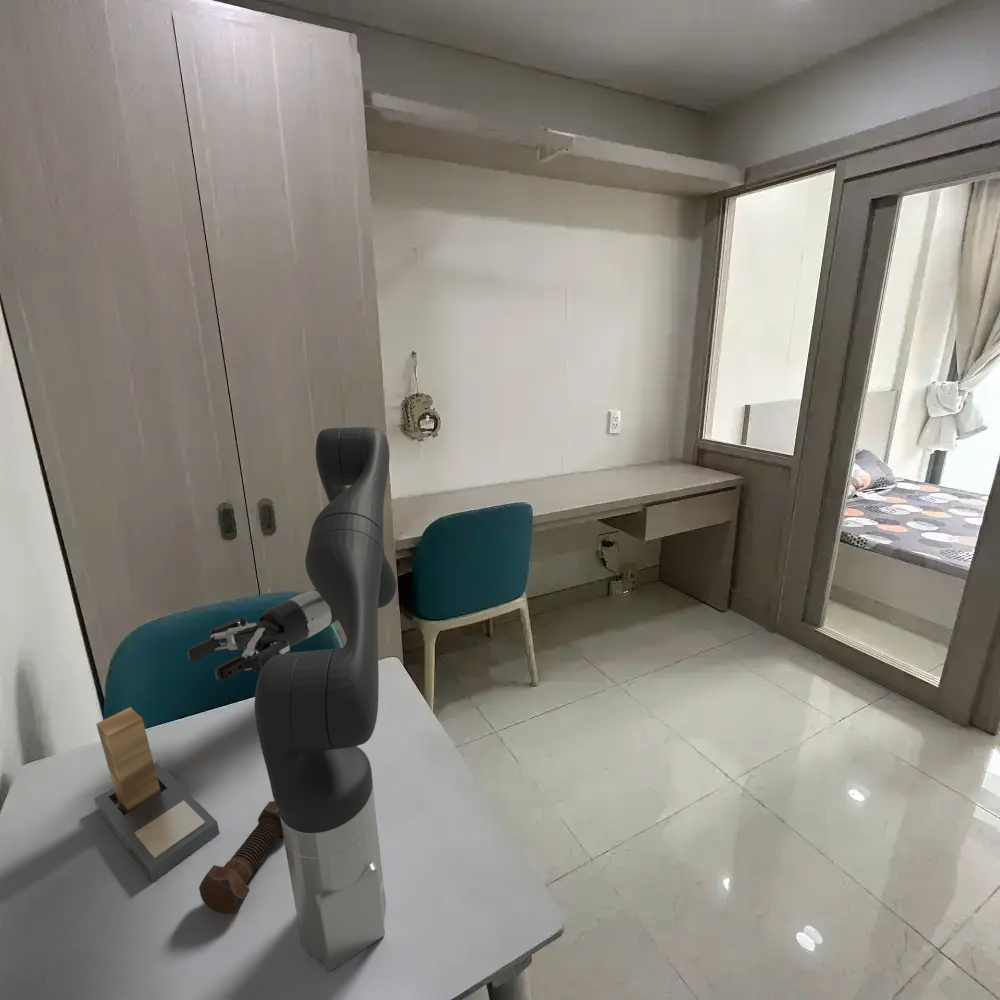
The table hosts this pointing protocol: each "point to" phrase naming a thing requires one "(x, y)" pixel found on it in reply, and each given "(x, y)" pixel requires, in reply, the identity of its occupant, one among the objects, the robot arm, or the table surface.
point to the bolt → (241, 865)
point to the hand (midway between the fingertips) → (202, 665)
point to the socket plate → (160, 825)
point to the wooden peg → (129, 759)
